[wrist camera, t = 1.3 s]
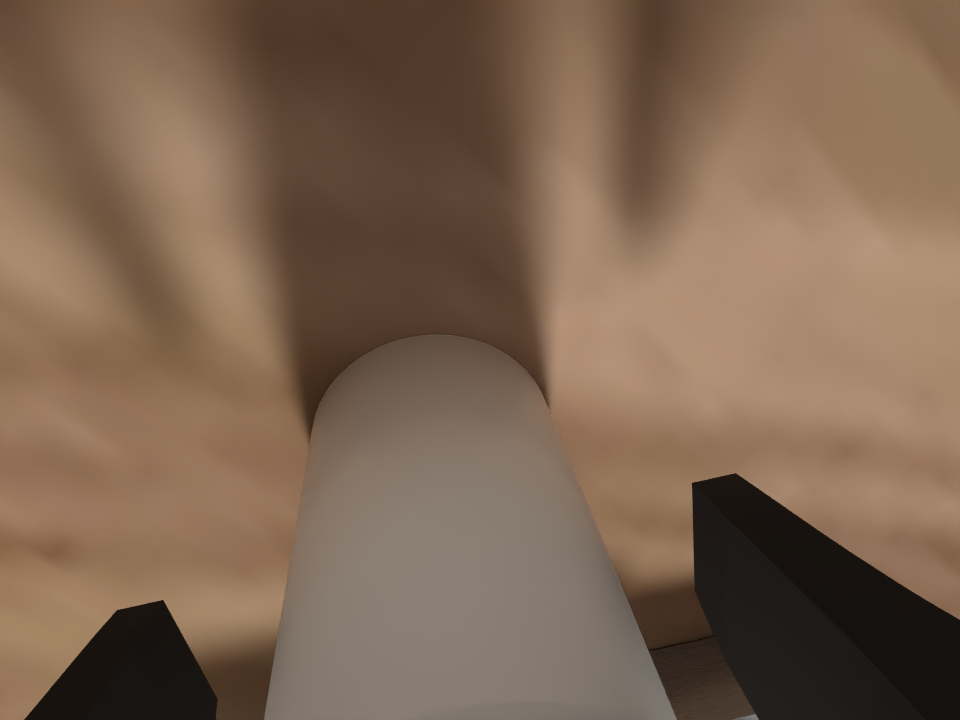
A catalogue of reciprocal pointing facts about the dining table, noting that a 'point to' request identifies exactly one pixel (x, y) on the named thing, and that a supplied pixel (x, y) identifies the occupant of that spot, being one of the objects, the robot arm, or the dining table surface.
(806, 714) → the robot arm
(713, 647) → the grey fixture plate
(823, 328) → the dining table surface
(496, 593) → the lidded can
